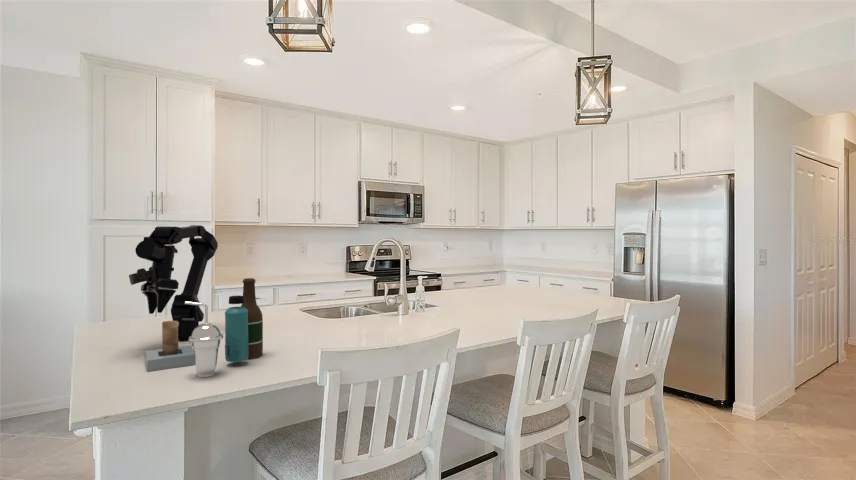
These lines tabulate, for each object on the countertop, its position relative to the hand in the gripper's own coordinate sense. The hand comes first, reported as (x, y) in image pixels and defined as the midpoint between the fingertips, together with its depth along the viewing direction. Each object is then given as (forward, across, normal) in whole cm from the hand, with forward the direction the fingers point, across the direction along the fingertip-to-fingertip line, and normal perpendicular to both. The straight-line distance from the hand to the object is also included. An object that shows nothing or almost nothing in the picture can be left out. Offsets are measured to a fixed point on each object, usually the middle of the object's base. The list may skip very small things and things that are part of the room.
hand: (155, 313), depth 145 cm
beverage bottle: (+15, +27, +16) cm, 35 cm away
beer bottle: (+13, +21, +22) cm, 33 cm away
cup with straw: (+17, +30, +7) cm, 35 cm away
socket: (+15, +12, +3) cm, 19 cm away
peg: (+15, +12, +3) cm, 19 cm away
